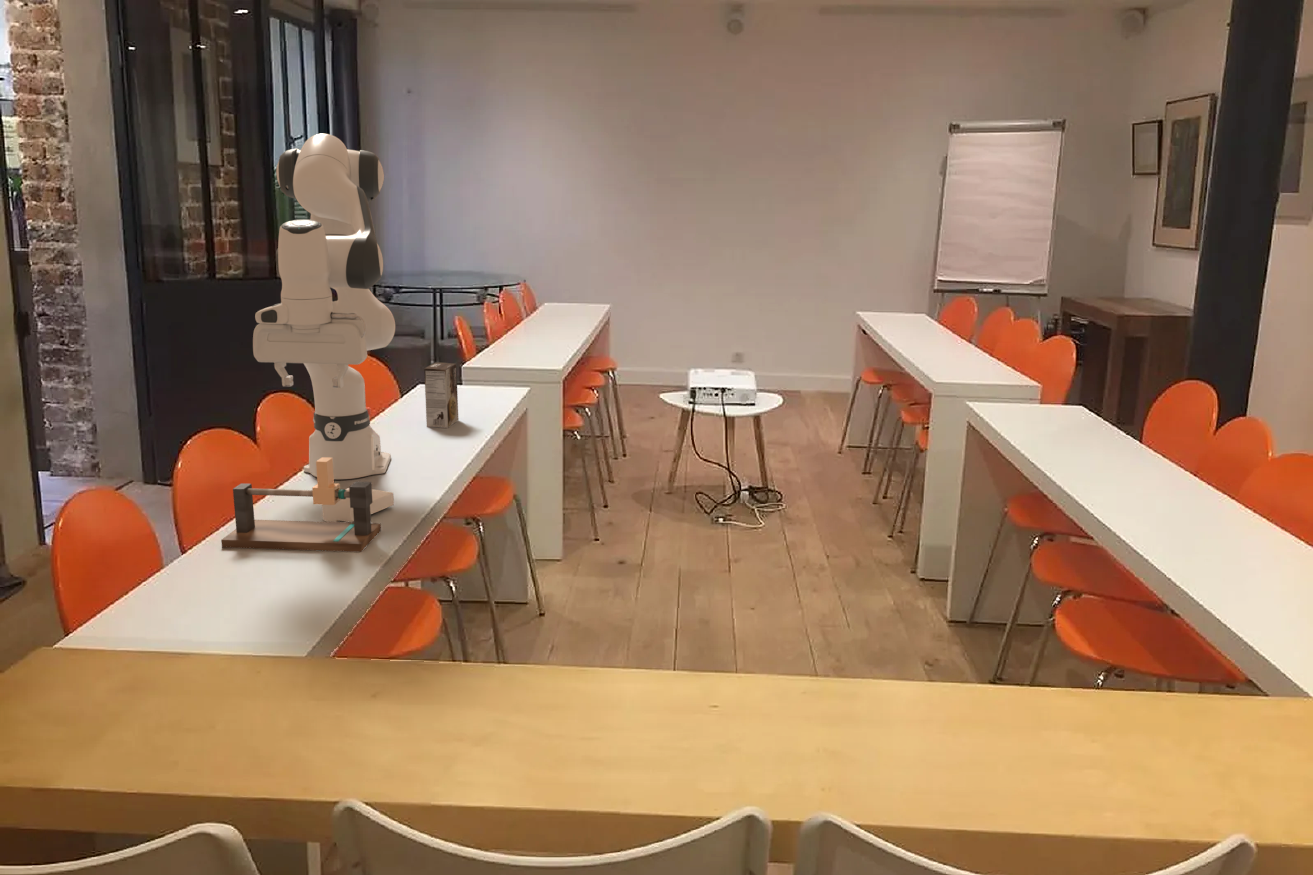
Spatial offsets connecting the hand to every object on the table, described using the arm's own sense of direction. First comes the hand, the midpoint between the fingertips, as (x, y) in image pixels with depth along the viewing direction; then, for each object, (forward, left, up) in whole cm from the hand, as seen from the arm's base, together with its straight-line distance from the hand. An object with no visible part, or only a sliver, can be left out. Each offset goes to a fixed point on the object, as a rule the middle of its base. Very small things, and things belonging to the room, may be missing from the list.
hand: (313, 386), depth 203 cm
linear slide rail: (+3, -3, -29) cm, 29 cm away
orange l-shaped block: (+3, +2, -21) cm, 22 cm away
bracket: (-13, +3, -29) cm, 32 cm away
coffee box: (-93, -1, -29) cm, 97 cm away
